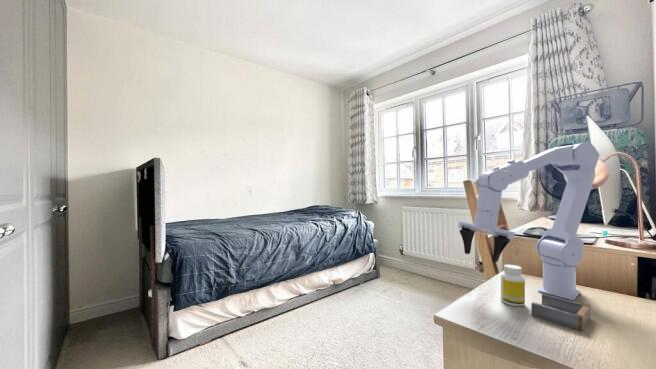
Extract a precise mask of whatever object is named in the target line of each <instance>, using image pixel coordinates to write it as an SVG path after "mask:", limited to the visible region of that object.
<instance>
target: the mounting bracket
mask: <svg viewBox="0 0 656 369" xmlns="http://www.w3.org/2000/svg"><path fill="white" fill-rule="evenodd" d="M530 305H531V310H530V311H531V316H533V317H535V318H539V319H542V320H545V321H548V322H551V323H554V324H556V325H557V324H558V325H560V326H563V327H567V328H569V329H573V330H577V331H579V332H582V331H583V329H584V328H585V327H586V325H587V323H588V322H589V320H590V319H591V307H590V306H591V305H589V304H585V303H582V302H578V301H574V300H570V299H566V298H562V297H558V296H554V295H551V294H547V293H542V294H541V303H537V302H534V301H532V302H531V304H530Z"/></svg>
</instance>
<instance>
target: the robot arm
mask: <svg viewBox="0 0 656 369" xmlns="http://www.w3.org/2000/svg"><path fill="white" fill-rule="evenodd" d="M600 156H601V154H600V153H599V151H598V150H597V149H596V147H595V146H594V145H593V143H590V142H587V141H586V142H580V143H576V144H569V145H564V146H555V147H553V148H549V149H547V150H544V151H542V152H540V153H538V154H536V155H534V156H532V157H530V158H528V159H525V160H524V161H523V160H519V159H516V160H515V159H510V160H508V161H507V163H506V164H504V165H501V166H494V167H493V168H492V169H493V170H491V171H484V172H481V173H480V175H479V176H478V178H476V180H475V182H476V186H477V188H478V196H477V203H476V209H475V210H476V211H475V217H474V223H470V222H466V221H465V222H464V221H459V222H458V228H459V234H460V236H461V239H462V243H463V249H464V250H463V251H464V254H466V255H470V254H471V249H472V243H473V239H474V235H475V233H476V232H480V233H483V234H488V235H492V236H494V237H493V252H492V253H493V254H492V258H491V259H492V260H491V261H492V262H493V263H498V261H499V259H500V256H501V254H502V253H503V250H504V249H505V248H506V247H507V246H508V244H509V243H510V241H511V240H514V239H515V234H516V232H515V231H511V230H506V229H503V228H502V229H501V228H498V223H499V222H498V220H499V214H500V208H501V200H502V195H503V191H505V190H506V189H507V188H508V186H510V185H511V184H514V183H516V182H519V181H521V180H523V179H527V177H528V176H529V174H530V172H531V171H533V170H537V169H539V168H542V167H545V166H548V165H552V166H553V167H554V168H555V169H557V171H559V172H560V173H561V174H562V175H564V176H566V178H567V182H566V185H565V187H564V191H563V193H562V197H561V201H560V203H559V206H558V209H557V212H556V216H555V219H554V221H553V224H552V227H551V228H549V229H548V230H545V231H544V232H543V233H542V235H541V238H540V239H538V240H537V242H536V245H535V250H536V252H537V254H538V255H539V256H540V259H541V260H542V286H541V287H539V288H538V289H537V292H539V293H542V294H547V295H551V296H555V297H558V298H562V299H566V300H570V301H574V300H575V299H576V298H577V296H579V294H580V293H581V290H580V289H577V271H576V270H577V269H576V267H578V264H580V263H581V262H582V260H583V257H584V253H583V252H584V251H583V248H584V244H585V242H584V241H583V240H582V239H581V237H579V235H578V234H577V233H578V230H579V227H580V225H581V221H582V218H583V214H584V213H585V212H584V211H585V209H586V205H587V203H588V199H589V196H590V193H591V191H592V188H593V187H592V186H593V185H594V184H593V183H594V181H595V179H596V167H597V165H598V161H599V158H600Z"/></svg>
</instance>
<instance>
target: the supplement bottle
mask: <svg viewBox="0 0 656 369" xmlns="http://www.w3.org/2000/svg"><path fill="white" fill-rule="evenodd" d="M522 270H523V269H522V267H521V266H520V265H515V264H504V265H503V271H504V272H501V274H500V300H501V302H502V303H505V304H506V305H508V306H512V307H513V306H514V307H524V306H525V302H526V298H525V297H526V296H525V295H526V282H525V281H526V280H525V279H526V278H525V277H524V275H522V272H523V271H522Z"/></svg>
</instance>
